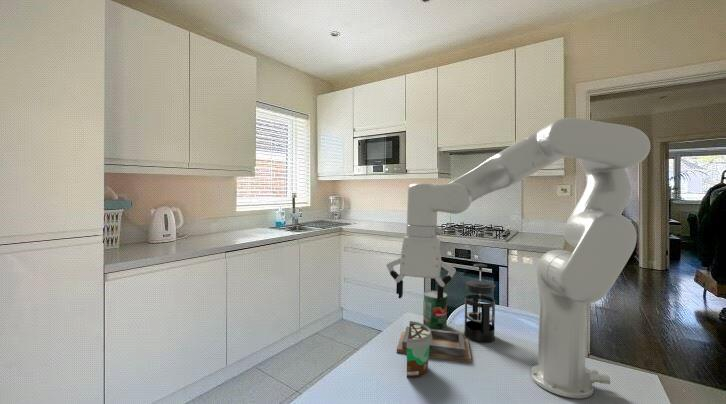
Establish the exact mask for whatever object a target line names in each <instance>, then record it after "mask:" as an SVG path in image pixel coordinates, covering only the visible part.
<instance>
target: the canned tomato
mask: <svg viewBox="0 0 726 404" xmlns="http://www.w3.org/2000/svg"><path fill="white" fill-rule="evenodd" d="M437 292H438V290H427V291H424V292H423V309H422V310H423V313H422V315H423V319H422V320H423V321H422V324H424V325H426V326H427V327H428V328H429V329H434V330H443V331H445V330H446V329H447V327H448V326H447V322H448V320H447V316H448V315H447V314H448V294H447V293H446V292H444V291H443V299H442V298H440V303H438V302H437Z"/></svg>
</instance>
